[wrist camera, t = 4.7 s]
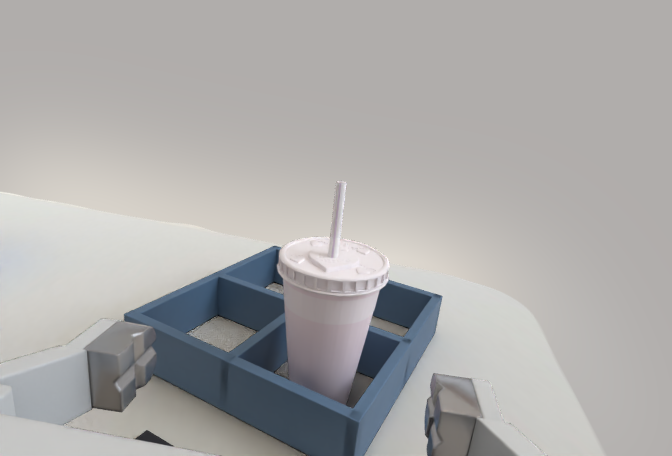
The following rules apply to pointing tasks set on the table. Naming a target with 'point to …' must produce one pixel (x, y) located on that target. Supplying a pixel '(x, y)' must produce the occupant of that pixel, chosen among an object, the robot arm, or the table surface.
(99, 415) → the table surface
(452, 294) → the table surface
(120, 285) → the table surface
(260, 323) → the blue compartment grid
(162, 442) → the mat
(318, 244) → the smoothie
